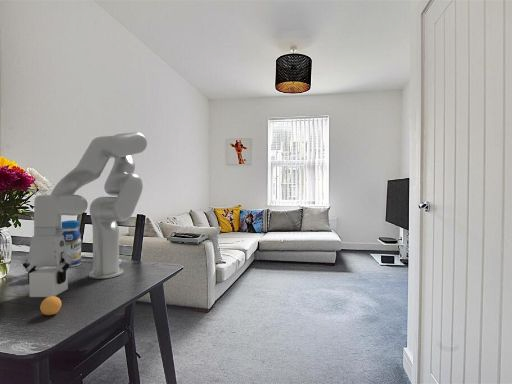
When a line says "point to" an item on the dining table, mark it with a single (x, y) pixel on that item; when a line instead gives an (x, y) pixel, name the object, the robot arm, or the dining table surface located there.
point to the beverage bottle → (72, 240)
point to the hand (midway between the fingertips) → (47, 282)
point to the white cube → (46, 282)
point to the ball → (50, 305)
